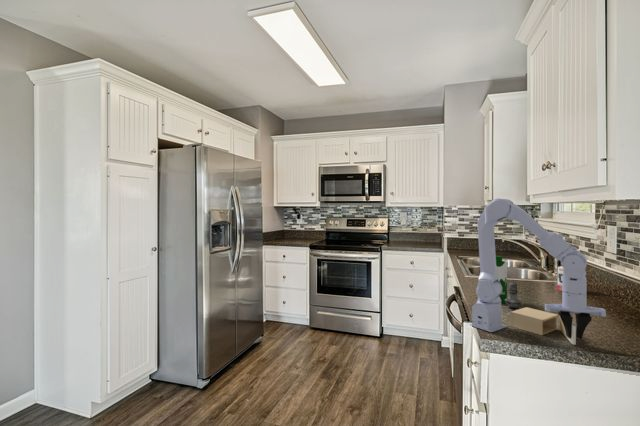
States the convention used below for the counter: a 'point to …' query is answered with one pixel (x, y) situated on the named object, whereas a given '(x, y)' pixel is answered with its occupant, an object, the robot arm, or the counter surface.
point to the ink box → (560, 278)
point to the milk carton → (502, 276)
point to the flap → (562, 328)
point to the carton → (534, 320)
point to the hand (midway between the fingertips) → (574, 337)
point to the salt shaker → (512, 297)
